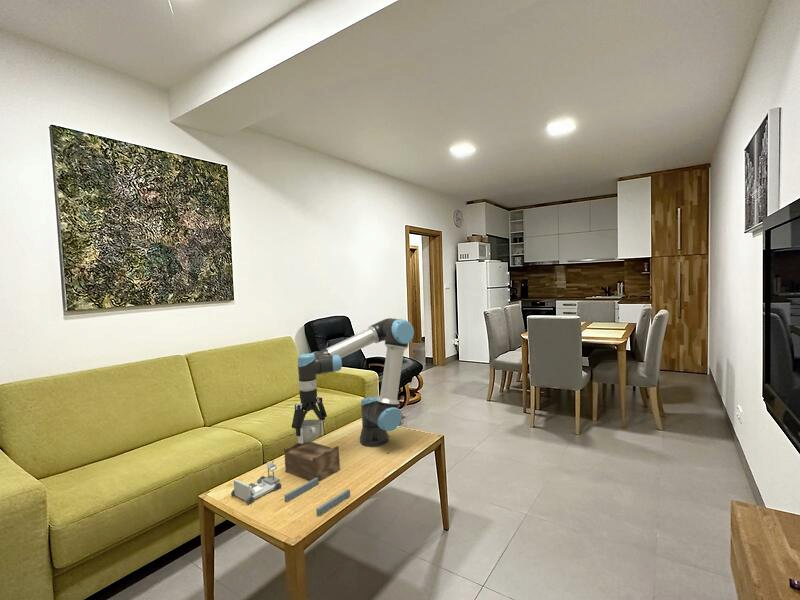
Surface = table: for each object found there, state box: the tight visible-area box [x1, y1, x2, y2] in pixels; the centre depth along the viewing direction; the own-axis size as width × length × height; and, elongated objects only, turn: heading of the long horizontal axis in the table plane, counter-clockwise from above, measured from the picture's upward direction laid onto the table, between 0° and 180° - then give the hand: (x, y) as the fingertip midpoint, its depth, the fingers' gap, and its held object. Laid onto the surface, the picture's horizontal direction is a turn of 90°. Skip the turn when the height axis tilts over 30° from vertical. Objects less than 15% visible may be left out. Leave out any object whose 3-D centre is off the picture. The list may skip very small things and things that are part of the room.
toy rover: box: [230, 459, 282, 506], centre depth 162 cm, size 18×10×12 cm
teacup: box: [295, 418, 320, 442], centre depth 177 cm, size 14×11×8 cm
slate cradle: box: [284, 478, 351, 517], centre depth 154 cm, size 16×19×2 cm
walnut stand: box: [283, 441, 341, 482], centre depth 178 cm, size 14×20×10 cm
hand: (310, 438), depth 177 cm, fingers closed on teacup, 11 cm apart
